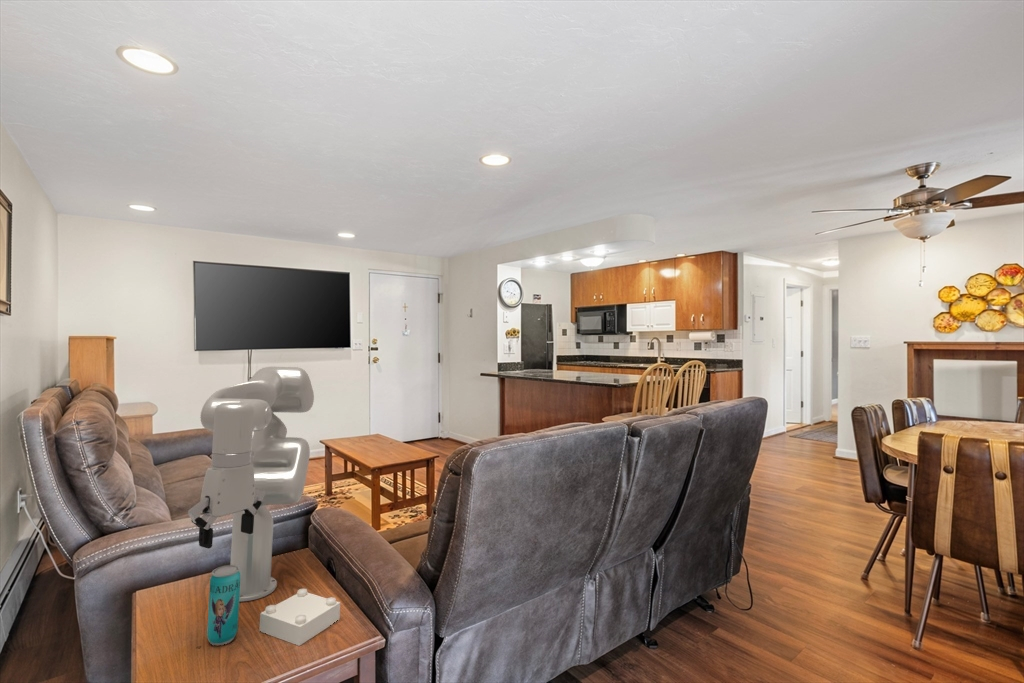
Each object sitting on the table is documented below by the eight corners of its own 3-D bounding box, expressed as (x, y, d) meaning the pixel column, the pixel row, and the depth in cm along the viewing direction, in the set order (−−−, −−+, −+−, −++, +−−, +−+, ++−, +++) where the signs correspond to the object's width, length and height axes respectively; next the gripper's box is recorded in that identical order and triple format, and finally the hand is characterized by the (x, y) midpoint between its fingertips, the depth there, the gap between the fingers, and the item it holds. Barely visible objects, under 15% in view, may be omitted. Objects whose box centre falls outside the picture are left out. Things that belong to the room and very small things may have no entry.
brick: (259, 631, 113) (260, 608, 113) (301, 607, 124) (302, 586, 124) (299, 645, 108) (300, 622, 108) (339, 619, 119) (340, 598, 119)
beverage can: (204, 650, 105) (208, 577, 105) (208, 635, 110) (212, 566, 111) (235, 644, 107) (239, 573, 108) (238, 630, 113) (242, 562, 113)
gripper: (254, 451, 119) (249, 525, 118) (180, 464, 103) (175, 549, 103) (277, 455, 116) (273, 530, 115) (204, 469, 100) (199, 556, 99)
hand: (227, 539), depth 109 cm, fingers open, 9 cm apart
